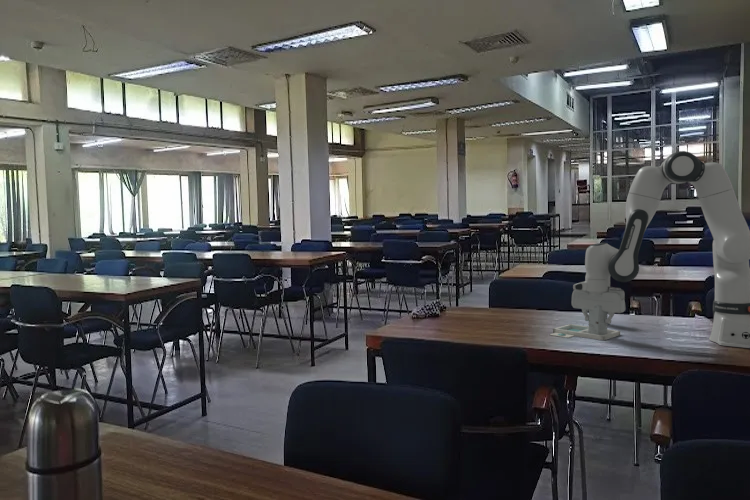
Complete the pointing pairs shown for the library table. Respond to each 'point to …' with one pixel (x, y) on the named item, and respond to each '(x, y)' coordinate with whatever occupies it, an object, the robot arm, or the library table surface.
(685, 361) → the library table surface
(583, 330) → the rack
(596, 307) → the skincare box
